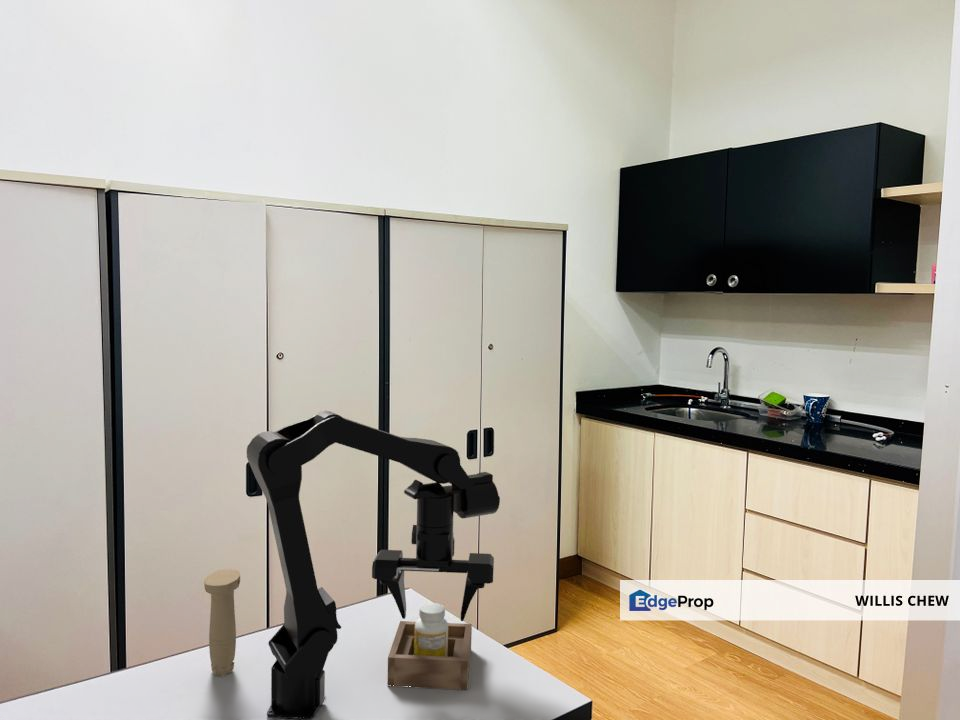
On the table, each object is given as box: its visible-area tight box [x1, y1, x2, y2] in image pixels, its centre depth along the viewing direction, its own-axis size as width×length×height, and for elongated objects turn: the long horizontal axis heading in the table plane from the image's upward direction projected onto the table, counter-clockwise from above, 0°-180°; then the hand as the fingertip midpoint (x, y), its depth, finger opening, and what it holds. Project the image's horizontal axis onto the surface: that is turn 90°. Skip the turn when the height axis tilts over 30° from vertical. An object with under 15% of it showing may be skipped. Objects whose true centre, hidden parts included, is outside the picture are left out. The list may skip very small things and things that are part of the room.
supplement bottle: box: [414, 602, 449, 657], centre depth 108 cm, size 5×5×10 cm
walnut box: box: [387, 620, 473, 691], centre depth 108 cm, size 12×12×4 cm
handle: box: [203, 568, 241, 677], centre depth 105 cm, size 5×6×15 cm
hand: (433, 618), depth 108 cm, fingers open, 9 cm apart
